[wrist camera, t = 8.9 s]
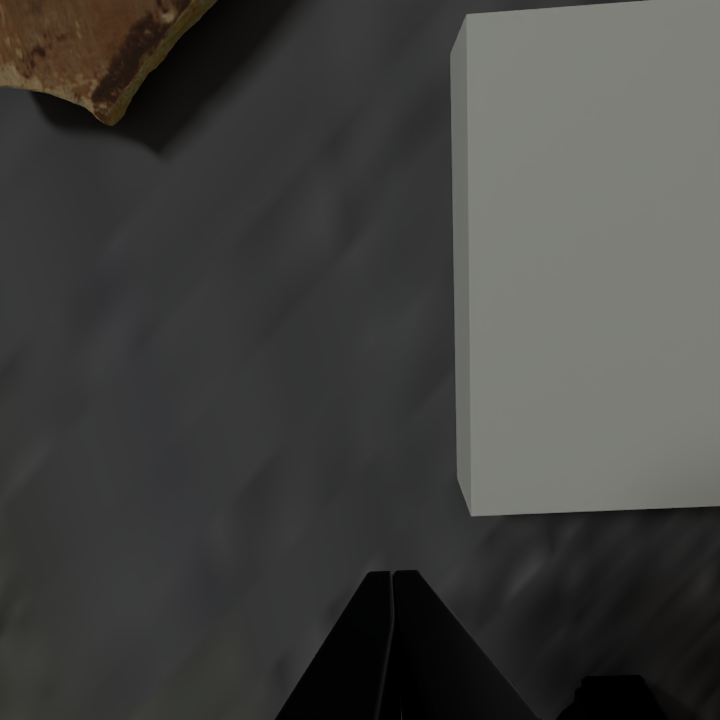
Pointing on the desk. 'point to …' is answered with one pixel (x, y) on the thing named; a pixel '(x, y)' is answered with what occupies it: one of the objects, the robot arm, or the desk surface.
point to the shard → (90, 47)
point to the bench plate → (587, 257)
